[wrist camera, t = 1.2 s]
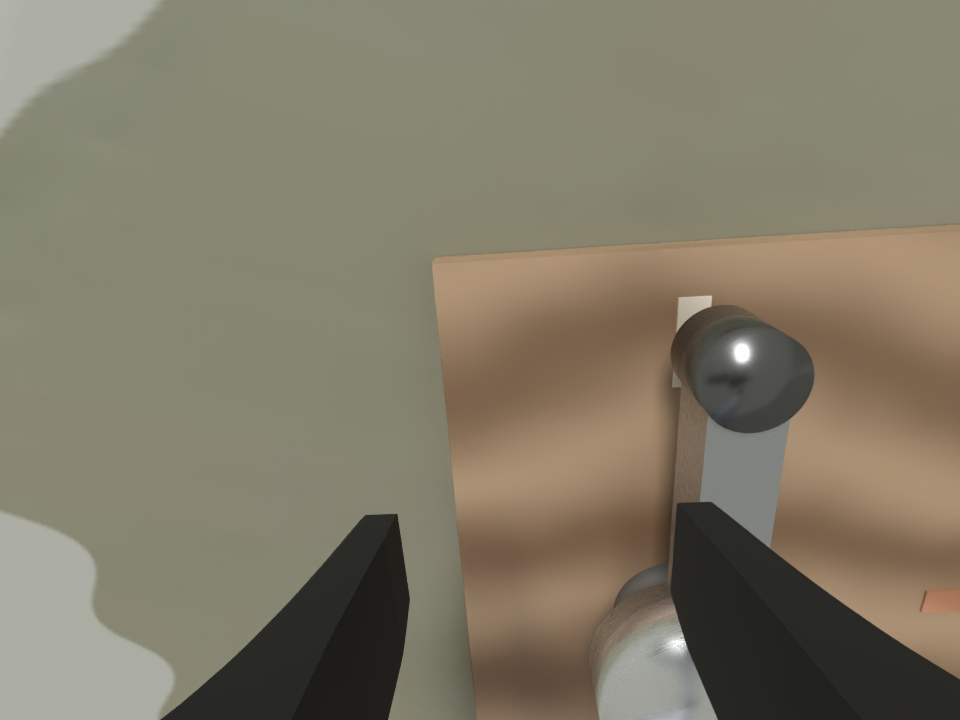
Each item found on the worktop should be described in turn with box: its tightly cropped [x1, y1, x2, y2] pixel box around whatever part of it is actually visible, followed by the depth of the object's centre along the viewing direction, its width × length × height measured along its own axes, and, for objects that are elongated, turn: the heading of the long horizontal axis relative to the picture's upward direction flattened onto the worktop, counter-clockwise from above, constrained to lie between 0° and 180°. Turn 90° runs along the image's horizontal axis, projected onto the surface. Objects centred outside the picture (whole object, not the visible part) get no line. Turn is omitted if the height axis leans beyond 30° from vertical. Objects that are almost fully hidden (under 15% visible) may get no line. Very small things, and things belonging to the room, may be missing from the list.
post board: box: [432, 224, 960, 720], centre depth 19 cm, size 22×22×3 cm
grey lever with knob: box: [589, 305, 815, 720], centre depth 16 cm, size 16×7×2 cm, turn 4°
